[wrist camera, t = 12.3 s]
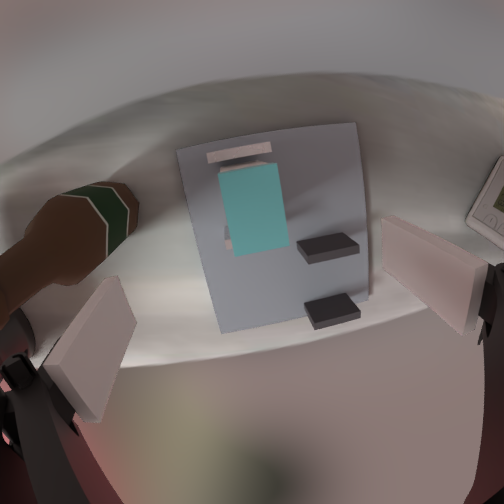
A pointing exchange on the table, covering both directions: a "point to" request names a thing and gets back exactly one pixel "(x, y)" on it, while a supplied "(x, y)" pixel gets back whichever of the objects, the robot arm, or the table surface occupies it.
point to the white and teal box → (253, 207)
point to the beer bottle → (66, 241)
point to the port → (233, 154)
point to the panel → (297, 218)
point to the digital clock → (490, 207)
